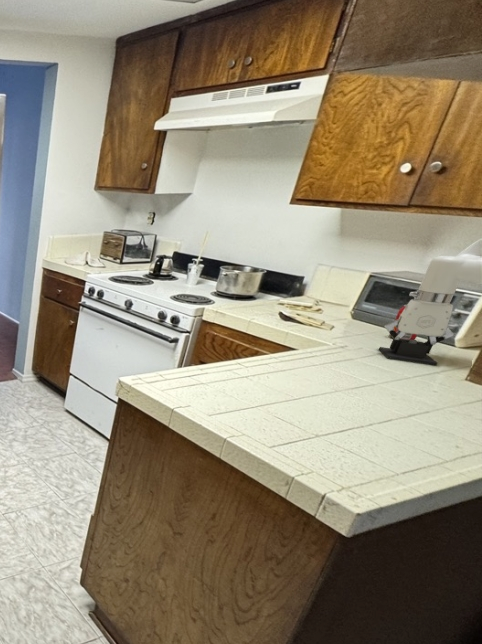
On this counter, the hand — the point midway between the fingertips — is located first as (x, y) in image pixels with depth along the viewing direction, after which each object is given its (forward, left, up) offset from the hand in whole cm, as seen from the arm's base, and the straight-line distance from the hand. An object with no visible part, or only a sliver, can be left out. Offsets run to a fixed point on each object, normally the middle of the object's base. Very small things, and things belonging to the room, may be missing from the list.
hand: (407, 352), depth 150 cm
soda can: (-5, -28, -2) cm, 29 cm away
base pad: (0, 0, -2) cm, 2 cm away
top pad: (0, 0, -1) cm, 1 cm away
